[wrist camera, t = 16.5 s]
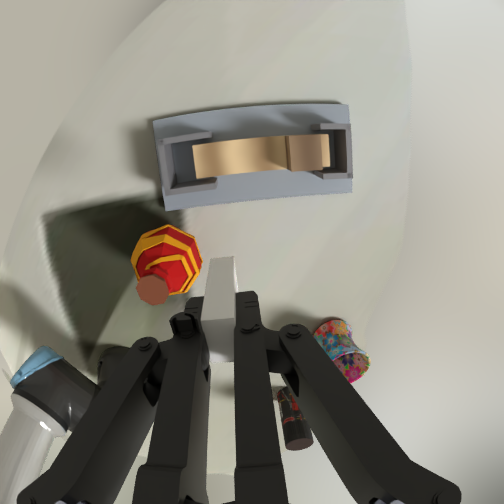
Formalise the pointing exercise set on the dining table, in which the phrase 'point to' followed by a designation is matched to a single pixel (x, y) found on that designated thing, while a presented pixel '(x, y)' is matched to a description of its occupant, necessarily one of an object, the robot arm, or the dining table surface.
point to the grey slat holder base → (242, 127)
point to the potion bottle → (165, 263)
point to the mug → (342, 349)
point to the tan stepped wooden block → (262, 155)
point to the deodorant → (293, 422)
